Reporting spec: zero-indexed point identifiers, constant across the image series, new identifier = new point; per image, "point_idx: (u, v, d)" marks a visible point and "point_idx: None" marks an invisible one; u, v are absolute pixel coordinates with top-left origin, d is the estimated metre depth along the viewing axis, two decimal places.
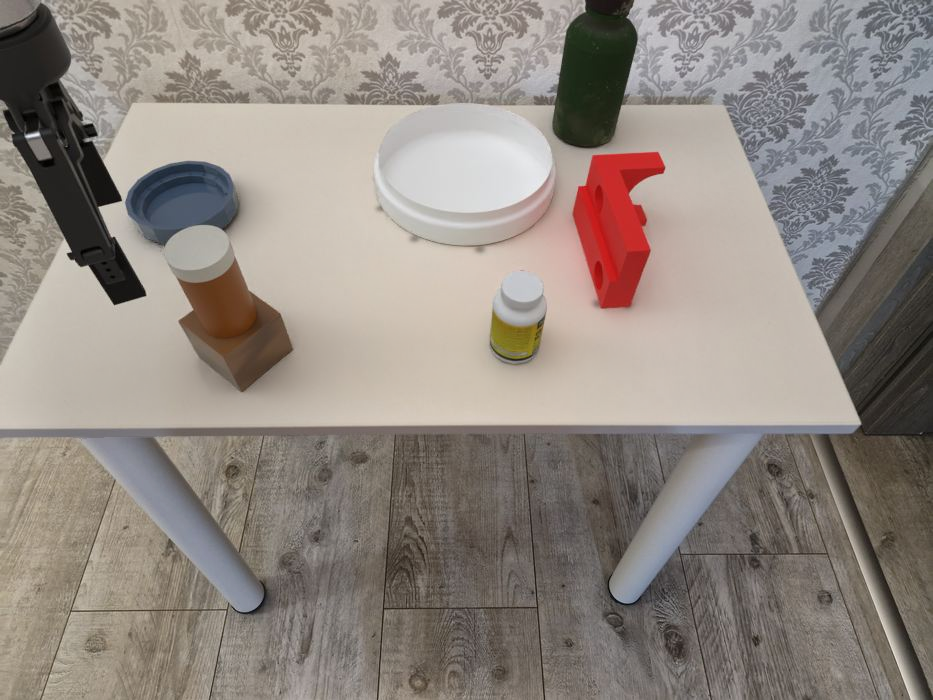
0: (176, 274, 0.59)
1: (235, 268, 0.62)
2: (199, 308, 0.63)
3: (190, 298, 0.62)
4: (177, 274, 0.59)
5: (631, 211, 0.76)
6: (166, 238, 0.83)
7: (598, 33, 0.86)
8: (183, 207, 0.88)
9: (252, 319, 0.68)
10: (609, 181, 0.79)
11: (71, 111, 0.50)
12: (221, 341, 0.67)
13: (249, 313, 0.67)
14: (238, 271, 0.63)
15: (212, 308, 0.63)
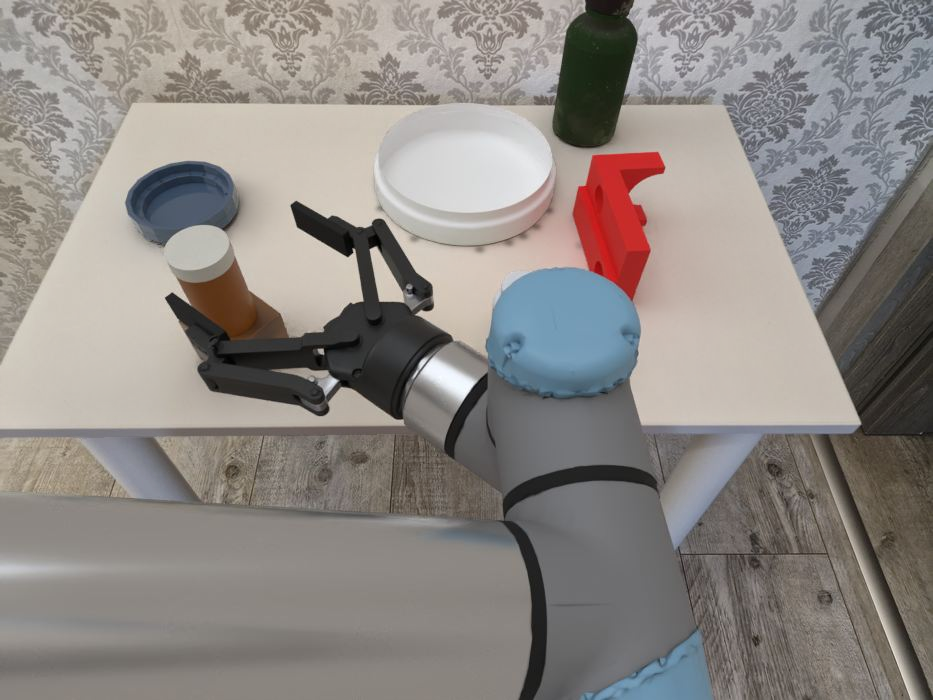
0: (176, 274, 0.59)
1: (235, 268, 0.62)
2: (199, 308, 0.63)
3: (190, 298, 0.62)
4: (177, 274, 0.59)
5: (631, 211, 0.76)
6: (166, 238, 0.83)
7: (598, 33, 0.86)
8: (183, 207, 0.88)
9: (252, 319, 0.68)
10: (609, 181, 0.79)
11: None
12: None
13: (249, 313, 0.67)
14: (238, 271, 0.63)
15: (212, 308, 0.63)
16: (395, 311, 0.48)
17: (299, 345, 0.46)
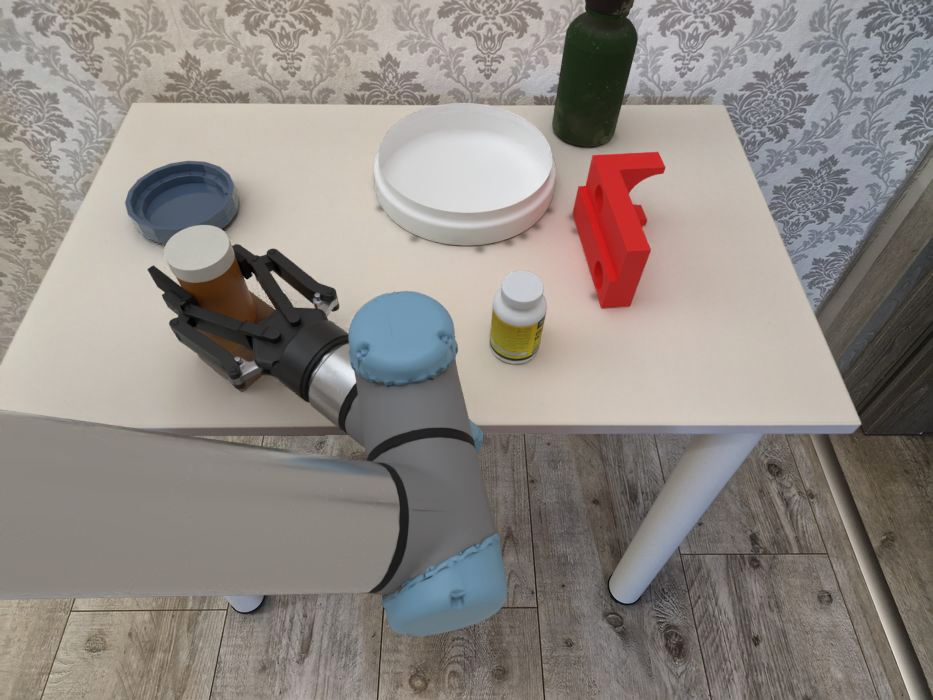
0: (176, 274, 0.59)
1: (235, 268, 0.62)
2: None
3: None
4: (177, 274, 0.59)
5: (631, 211, 0.76)
6: (166, 238, 0.83)
7: (598, 33, 0.86)
8: (183, 207, 0.88)
9: (252, 319, 0.68)
10: (609, 181, 0.79)
11: None
12: (221, 341, 0.67)
13: (249, 313, 0.67)
14: (238, 271, 0.63)
15: (212, 308, 0.63)
16: (313, 316, 0.60)
17: (238, 327, 0.59)
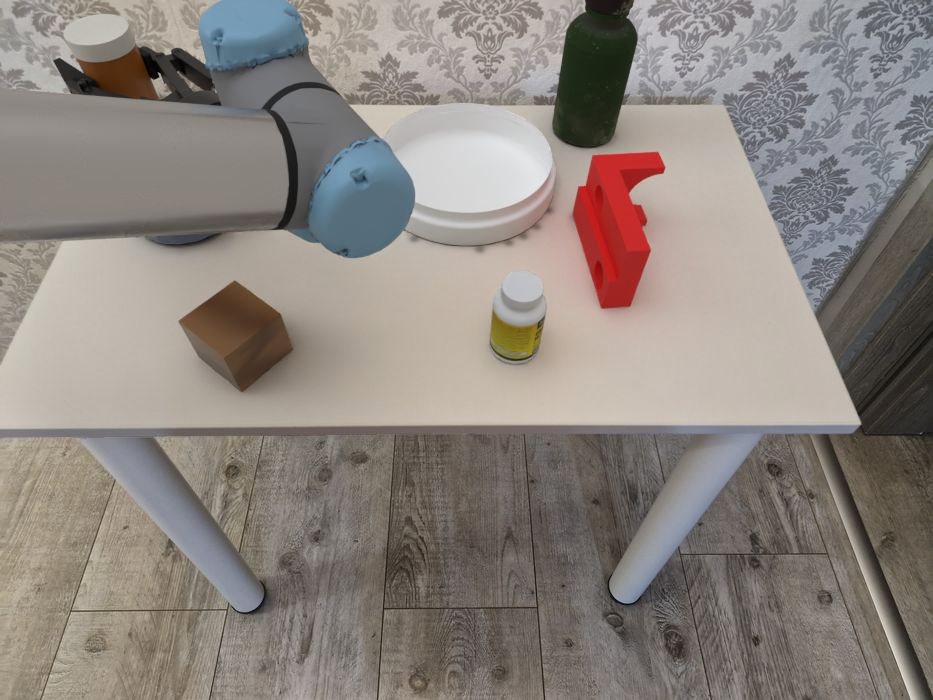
0: (75, 53, 0.62)
1: (137, 58, 0.65)
2: None
3: None
4: (76, 53, 0.62)
5: (631, 211, 0.76)
6: (166, 238, 0.83)
7: (598, 33, 0.86)
8: None
9: None
10: (609, 181, 0.79)
11: None
12: (221, 341, 0.67)
13: None
14: (141, 63, 0.65)
15: None
16: None
17: None
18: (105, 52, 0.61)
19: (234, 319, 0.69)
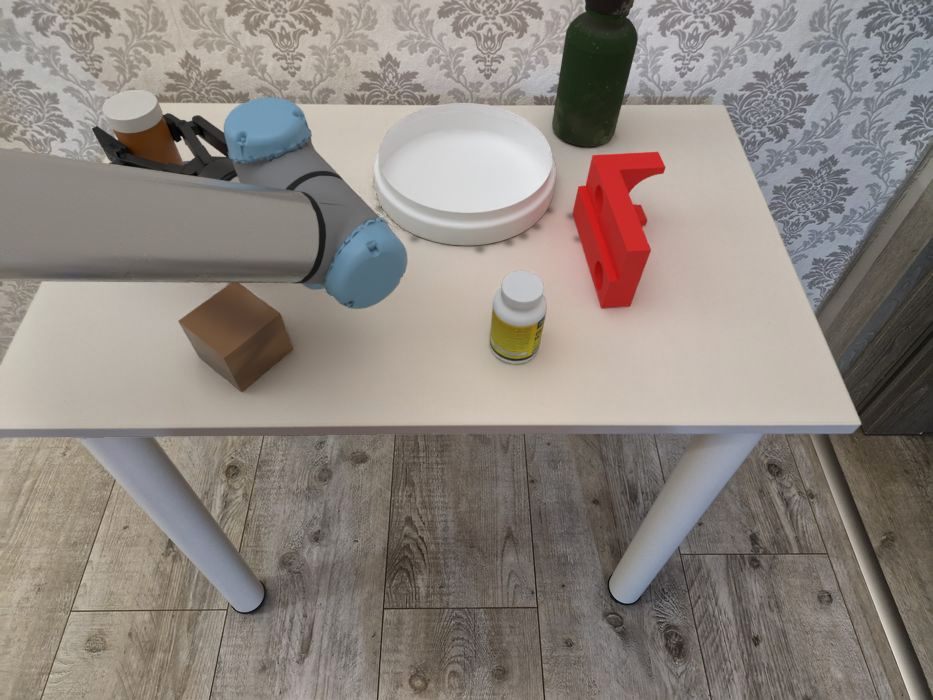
0: (112, 126, 0.73)
1: (164, 126, 0.76)
2: None
3: None
4: (113, 125, 0.72)
5: (631, 211, 0.76)
6: None
7: (598, 33, 0.86)
8: None
9: None
10: (609, 181, 0.79)
11: None
12: (221, 341, 0.67)
13: None
14: (167, 130, 0.76)
15: None
16: None
17: (162, 168, 0.72)
18: (138, 125, 0.72)
19: (234, 319, 0.69)
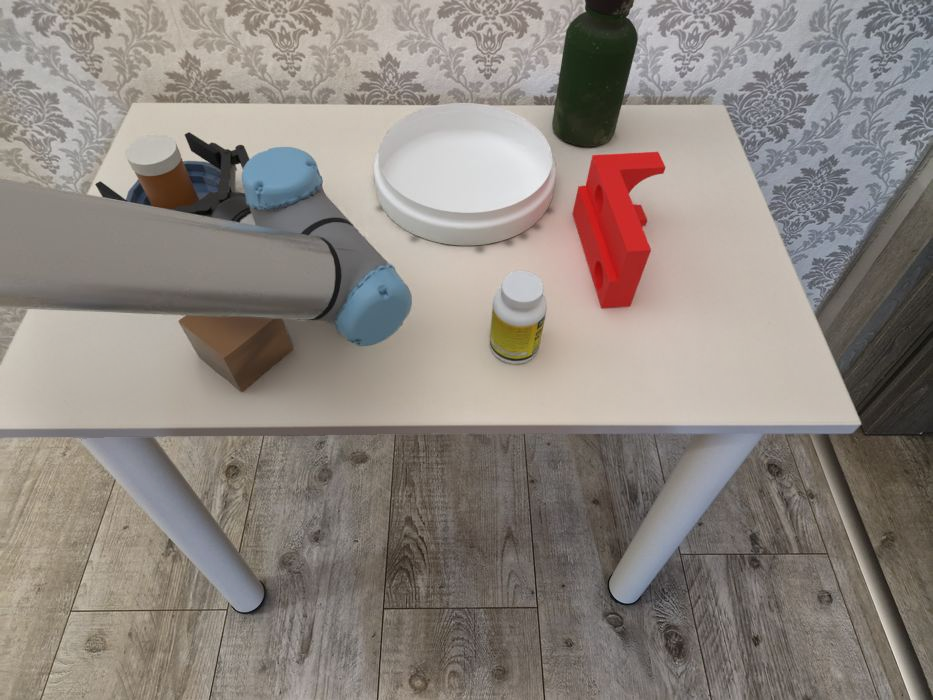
0: (135, 169, 0.78)
1: (182, 168, 0.81)
2: (154, 201, 0.82)
3: (147, 191, 0.81)
4: (135, 169, 0.78)
5: (631, 211, 0.76)
6: None
7: (598, 33, 0.86)
8: None
9: None
10: (609, 181, 0.79)
11: None
12: (221, 341, 0.67)
13: None
14: (185, 171, 0.81)
15: (164, 200, 0.81)
16: None
17: None
18: (158, 168, 0.78)
19: (234, 319, 0.69)
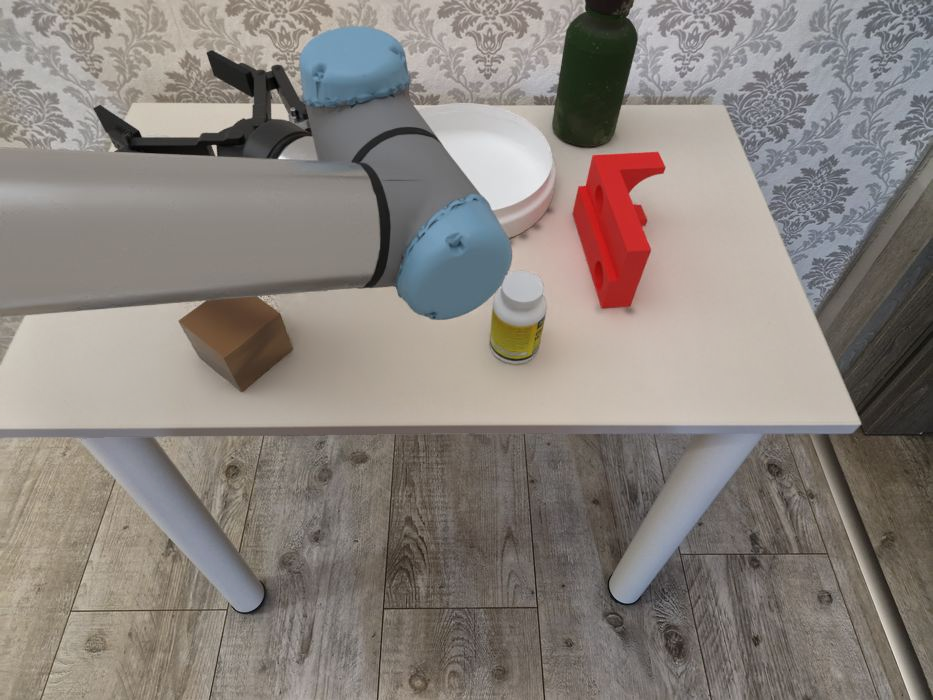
0: None
1: None
2: None
3: None
4: None
5: (631, 211, 0.76)
6: None
7: (598, 33, 0.86)
8: None
9: None
10: (609, 181, 0.79)
11: None
12: (221, 341, 0.67)
13: None
14: None
15: None
16: None
17: (196, 142, 0.58)
18: None
19: (234, 319, 0.69)
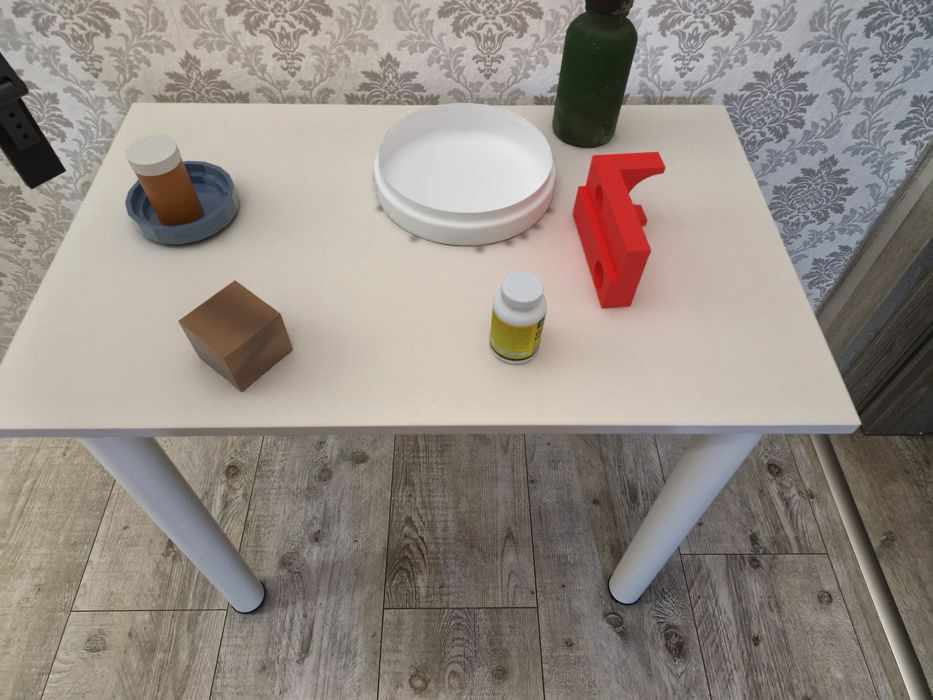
0: (135, 169, 0.78)
1: (182, 168, 0.81)
2: (154, 201, 0.82)
3: (147, 191, 0.81)
4: (135, 169, 0.78)
5: (631, 211, 0.76)
6: (166, 238, 0.83)
7: (598, 33, 0.86)
8: None
9: (198, 215, 0.86)
10: (609, 181, 0.79)
11: None
12: (221, 341, 0.67)
13: (196, 209, 0.85)
14: (185, 171, 0.81)
15: (164, 200, 0.81)
16: None
17: None
18: (158, 168, 0.78)
19: (234, 319, 0.69)
